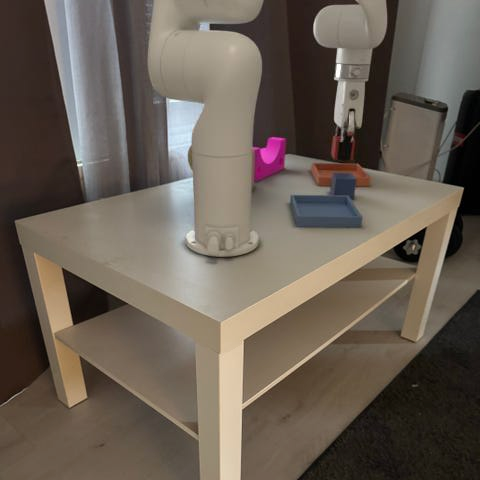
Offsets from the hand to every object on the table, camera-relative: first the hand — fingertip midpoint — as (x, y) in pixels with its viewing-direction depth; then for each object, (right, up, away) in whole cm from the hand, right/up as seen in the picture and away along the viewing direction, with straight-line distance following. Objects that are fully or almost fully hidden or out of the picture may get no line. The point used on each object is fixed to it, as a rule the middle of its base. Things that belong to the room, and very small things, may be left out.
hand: (341, 155), depth 117 cm
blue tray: (-8, -19, -20) cm, 29 cm away
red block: (0, 0, 0) cm, 0 cm away
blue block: (-2, -12, -10) cm, 16 cm away
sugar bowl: (-28, -10, -7) cm, 31 cm away
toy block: (-20, -3, +6) cm, 21 cm away
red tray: (0, -5, +3) cm, 5 cm away
